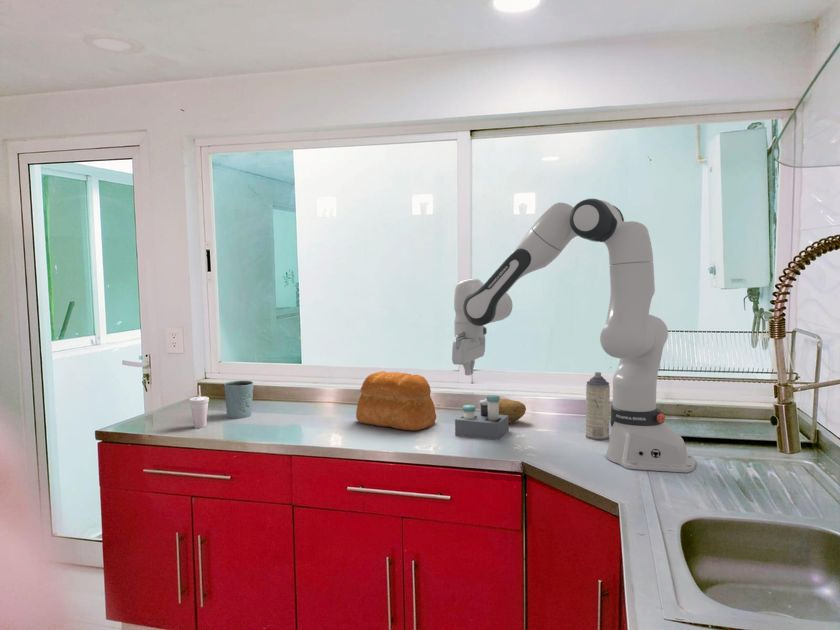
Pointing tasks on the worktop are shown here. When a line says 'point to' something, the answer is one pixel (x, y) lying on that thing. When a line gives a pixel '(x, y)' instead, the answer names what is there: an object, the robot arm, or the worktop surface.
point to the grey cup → (239, 399)
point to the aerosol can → (597, 408)
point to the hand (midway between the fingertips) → (469, 374)
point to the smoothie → (199, 410)
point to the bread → (396, 401)
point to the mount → (482, 425)
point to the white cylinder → (469, 411)
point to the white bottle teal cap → (493, 407)
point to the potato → (511, 409)
